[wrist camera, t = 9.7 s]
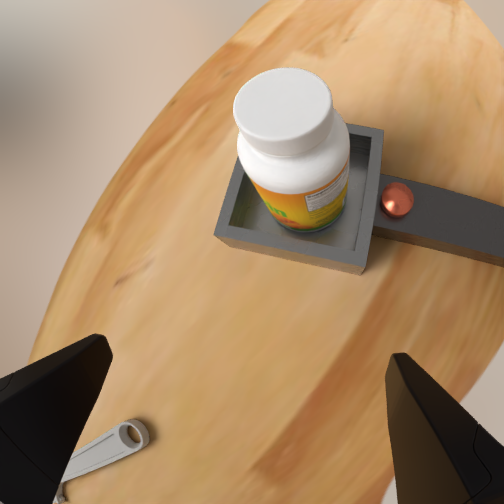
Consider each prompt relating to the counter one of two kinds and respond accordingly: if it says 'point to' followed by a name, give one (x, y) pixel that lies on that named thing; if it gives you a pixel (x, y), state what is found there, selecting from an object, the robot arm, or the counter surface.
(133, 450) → the adjustable wrench
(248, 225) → the grey rectangular scoop
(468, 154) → the counter surface
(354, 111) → the counter surface
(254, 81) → the supplement bottle
